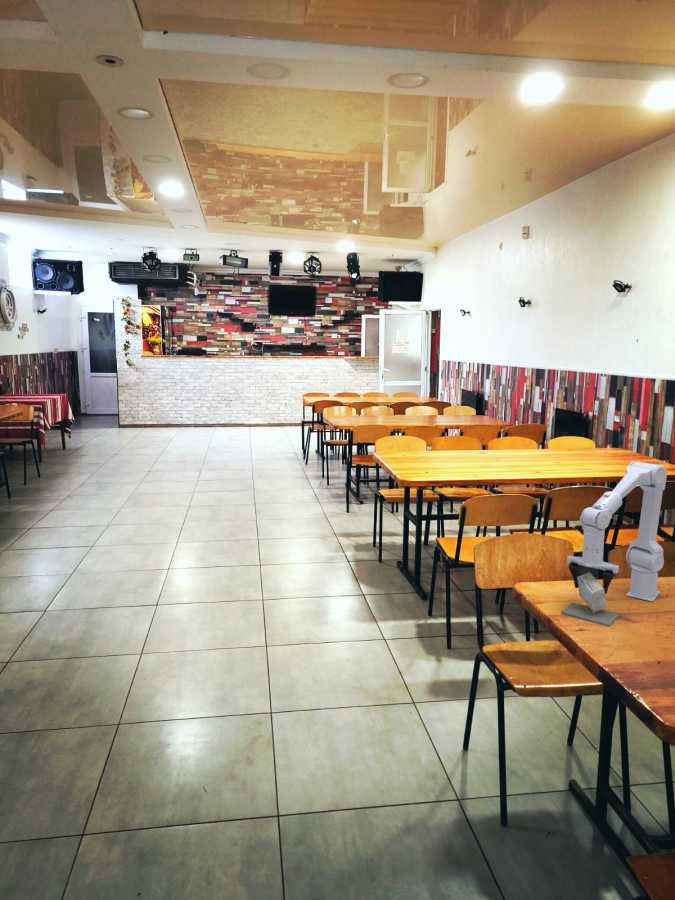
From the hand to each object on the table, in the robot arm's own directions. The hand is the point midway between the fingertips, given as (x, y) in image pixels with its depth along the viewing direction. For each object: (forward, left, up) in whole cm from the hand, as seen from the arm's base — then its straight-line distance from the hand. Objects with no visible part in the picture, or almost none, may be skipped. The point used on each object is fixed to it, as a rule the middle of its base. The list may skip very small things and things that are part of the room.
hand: (590, 590), depth 182 cm
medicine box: (-2, 0, -4) cm, 4 cm away
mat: (+3, +1, -7) cm, 7 cm away
